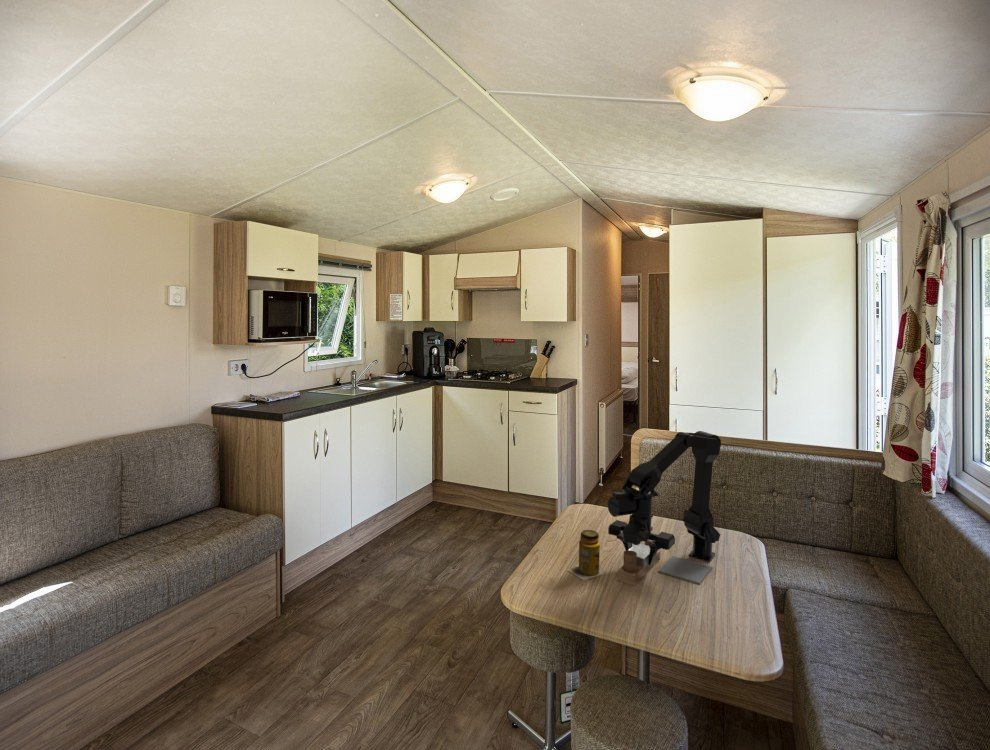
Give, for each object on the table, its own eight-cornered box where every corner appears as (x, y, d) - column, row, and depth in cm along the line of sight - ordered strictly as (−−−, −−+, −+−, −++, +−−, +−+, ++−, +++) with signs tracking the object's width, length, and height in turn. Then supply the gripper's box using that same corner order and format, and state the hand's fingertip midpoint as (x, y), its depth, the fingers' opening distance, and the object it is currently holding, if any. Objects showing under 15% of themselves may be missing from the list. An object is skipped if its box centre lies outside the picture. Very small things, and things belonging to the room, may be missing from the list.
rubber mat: (672, 557, 167) (672, 555, 167) (712, 568, 160) (712, 567, 160) (658, 572, 158) (658, 570, 157) (699, 584, 150) (699, 582, 150)
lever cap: (636, 551, 164) (636, 542, 164) (655, 557, 160) (655, 547, 160) (624, 562, 157) (624, 553, 157) (643, 568, 153) (644, 558, 153)
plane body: (644, 555, 168) (645, 531, 167) (660, 559, 165) (660, 535, 164) (617, 580, 153) (618, 553, 152) (634, 585, 150) (634, 558, 149)
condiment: (605, 573, 157) (606, 534, 156) (584, 581, 152) (585, 541, 151) (588, 563, 163) (589, 526, 162) (567, 570, 158) (567, 532, 157)
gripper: (600, 512, 156) (599, 562, 158) (662, 527, 145) (660, 582, 147) (616, 501, 165) (615, 549, 167) (676, 515, 154) (674, 566, 155)
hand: (639, 561), depth 159 cm, fingers closed on lever cap, 6 cm apart
